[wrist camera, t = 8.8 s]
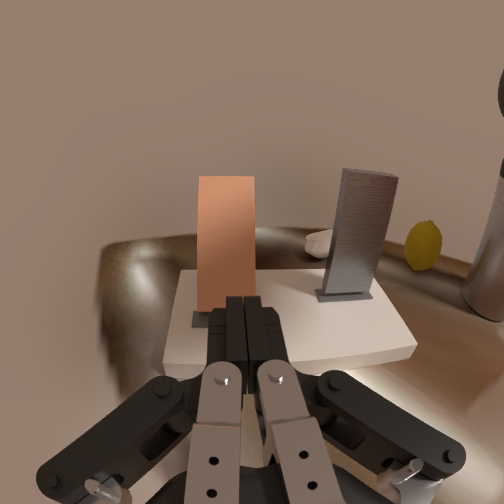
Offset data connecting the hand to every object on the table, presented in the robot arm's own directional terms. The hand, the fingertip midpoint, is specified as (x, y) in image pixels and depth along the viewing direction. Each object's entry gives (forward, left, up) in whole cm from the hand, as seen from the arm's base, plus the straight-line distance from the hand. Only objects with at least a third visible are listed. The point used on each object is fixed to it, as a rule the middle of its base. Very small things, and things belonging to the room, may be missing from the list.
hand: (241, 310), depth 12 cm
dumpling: (-12, -24, -11) cm, 29 cm away
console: (-5, -10, -11) cm, 16 cm away
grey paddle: (-11, -12, -9) cm, 19 cm away
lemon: (-26, -19, -11) cm, 34 cm away
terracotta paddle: (+1, -9, -9) cm, 12 cm away
